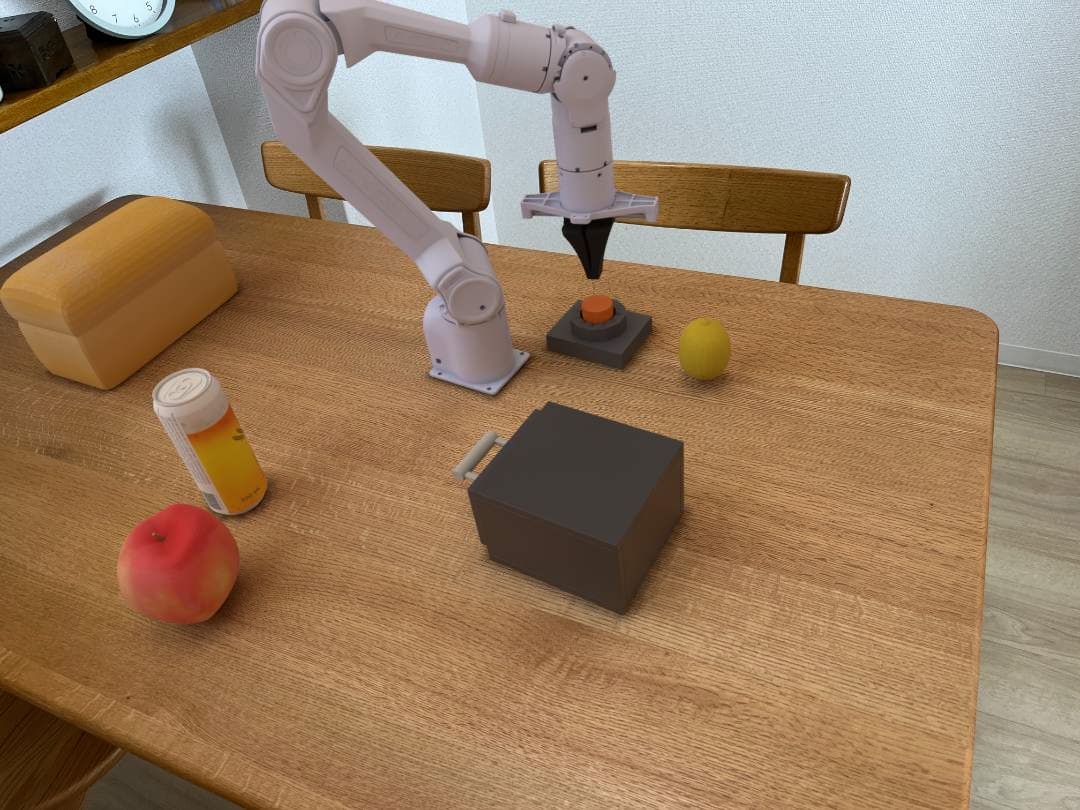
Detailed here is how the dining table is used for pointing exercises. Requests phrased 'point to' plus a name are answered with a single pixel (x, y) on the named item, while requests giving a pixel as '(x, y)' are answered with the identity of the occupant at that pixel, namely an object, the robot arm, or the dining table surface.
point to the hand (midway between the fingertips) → (594, 274)
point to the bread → (120, 290)
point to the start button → (597, 309)
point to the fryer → (583, 503)
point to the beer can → (210, 440)
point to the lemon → (704, 349)
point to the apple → (178, 565)
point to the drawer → (474, 459)
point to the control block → (600, 335)
